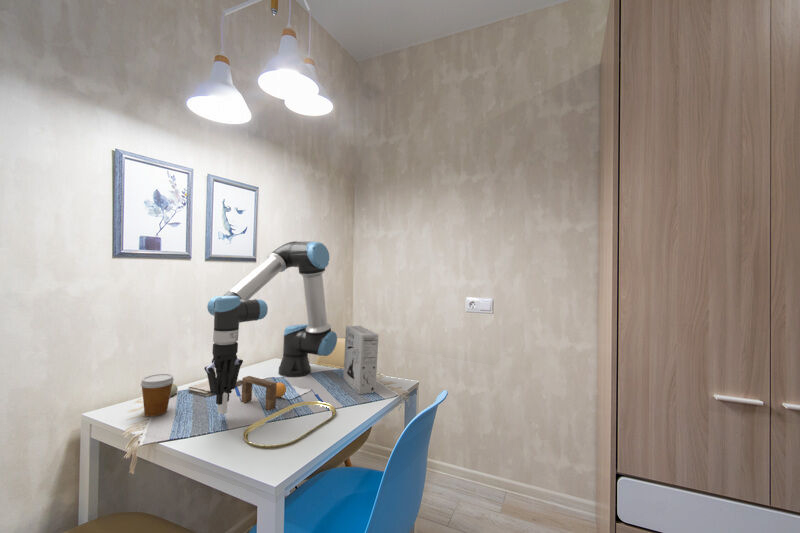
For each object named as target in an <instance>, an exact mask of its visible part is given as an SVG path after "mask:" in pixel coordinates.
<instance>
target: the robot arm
mask: <svg viewBox="0 0 800 533" xmlns="http://www.w3.org/2000/svg"><path fill="white" fill-rule="evenodd" d="M329 262H330V252H329V250H328V248H327V246H325V244H324V243H322V242H318V241H290V242H287V243H284V244H282V245H281V246H279V247H277V248H276V249H275V250H273V251H272V252H270V253H269V254H268V256H267V258H266V259H265V260H264V261H263V262H262V263H261V264H260V265H258V266H257V267H256V268H255V269H253V271H251V272H249V274H248V275H246V276H245V277H244V278H242V280H240V281H238V283H237V284H236V285H234V286H233V287H232V288H231V289H229V290H228V291H226V292H225V293H224V294H223V295H219V296H213V297H212V298H211V299H209V301H208V303H207V306H206V308H207V311H208V313H209V314H210V315H211V316H213V317H214V318H213V332H212V333H213V334H212V335H213V336H212V342H213V344H212V360H211V363H210V364H209V365H208V366H204V371H205V373H206V374H207V381H209V386H210V391H211V393H212V394H214V395H215V396H216V397H215V398H216V400H215V403H216V405H217V414H220V415H225V414H227V413H228V402H229V401H230V394H232V392H233V390H235V389H236V387H237V386H236V382H237V379H239V378H238V377H239V373H240V369H241V366H242V364H243V363H244V360H243V359H240V358H238V355H237V354H238V349H239V343H238V341H239V329H240V323H245V322H247V323H248V322H254V321H260V320H262V319H264V318H266V316H268V311H269V309H268V304H267V302H266V301H265V300H263V299H258V298H257V299H256V298H253V299H251V298H252V297H254V296H255V295H256V294H257V293H258V292H259V291H260V290H261V289H262V288H263V287H265V286H266V285H267V284H268V283H269V282H270V281H271V280H273V278H275V277H276V276H277V275H278V274H279V273H283V272H285V271H286V270H287V269H289V268H297V269H298V273H299V275H301V276H302V278H303V281H302V282H303V289H304V296H305V297H304V298H305V307H306V316H307V323H305V324H294V325H287V326H286V327H285V328H284V332H283V348H282V349H283V350H282V351H283V352H282V358H281V362H280V365H279V367H278V375H280V376H283V377H291V378H292V377H293V378H296V377H304V376H307V375H309V374H310V373H311V371H312V370H311V368H312V367H311V365H310V364H311V363H310V359H309V356H308V354H309V355H310V354H311V355H316V356H319V357H321V356H324V357H328V356H330V355H331V354H332V353H333V352H334V350H335V348H336V346H337V342H338V335H337V333H336V332H335V331H333V330H332V327H331V326H332V325H331V324H330V323H329V322H328V320H327V319H328V318H327V309H326V299H325V289H324V279H323V273H325V272H326V268H327V267H328V266H329ZM235 386H236V387H235Z"/></svg>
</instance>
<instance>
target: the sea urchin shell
mask: <svg viewBox="0 0 800 533" xmlns="http://www.w3.org/2000/svg"><path fill="white" fill-rule="evenodd" d="M177 392H178V386H177V385H176V384H175V383H174V382H173V383H172V387H171V393H170V397H172V396H174V395H175V394H177Z"/></svg>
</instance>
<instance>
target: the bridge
mask: <svg viewBox="0 0 800 533" xmlns="http://www.w3.org/2000/svg"><path fill="white" fill-rule="evenodd" d="M241 380H242V385H241V398H240V399H241V403H242V402H243V404H247V403H249V401H250V402H252V401H251V400H252V397H253V385H256V386H259V387H262V388H263V387H264V388H265V402H264V404H265V405H264V410H265V411H268V410H270V411H272V410H275V409H276V408H277V407H276V403H277V397H276V388H277V383H278V382H274V381H271V380H266V379H263V378H259V377H256V376H253V375H252V376H251V375H246V376H244V377H242V379H241ZM271 409H272V410H271Z"/></svg>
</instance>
